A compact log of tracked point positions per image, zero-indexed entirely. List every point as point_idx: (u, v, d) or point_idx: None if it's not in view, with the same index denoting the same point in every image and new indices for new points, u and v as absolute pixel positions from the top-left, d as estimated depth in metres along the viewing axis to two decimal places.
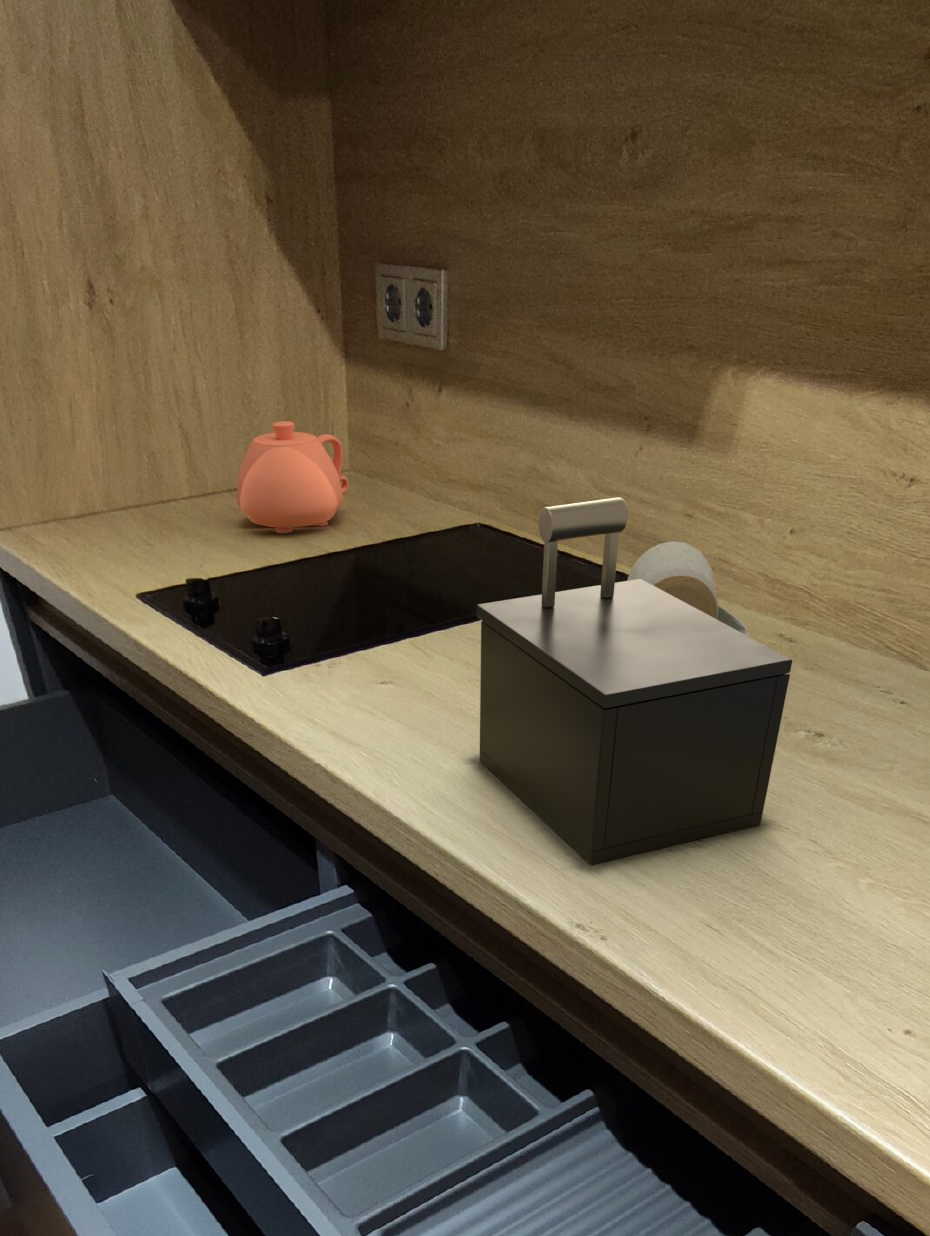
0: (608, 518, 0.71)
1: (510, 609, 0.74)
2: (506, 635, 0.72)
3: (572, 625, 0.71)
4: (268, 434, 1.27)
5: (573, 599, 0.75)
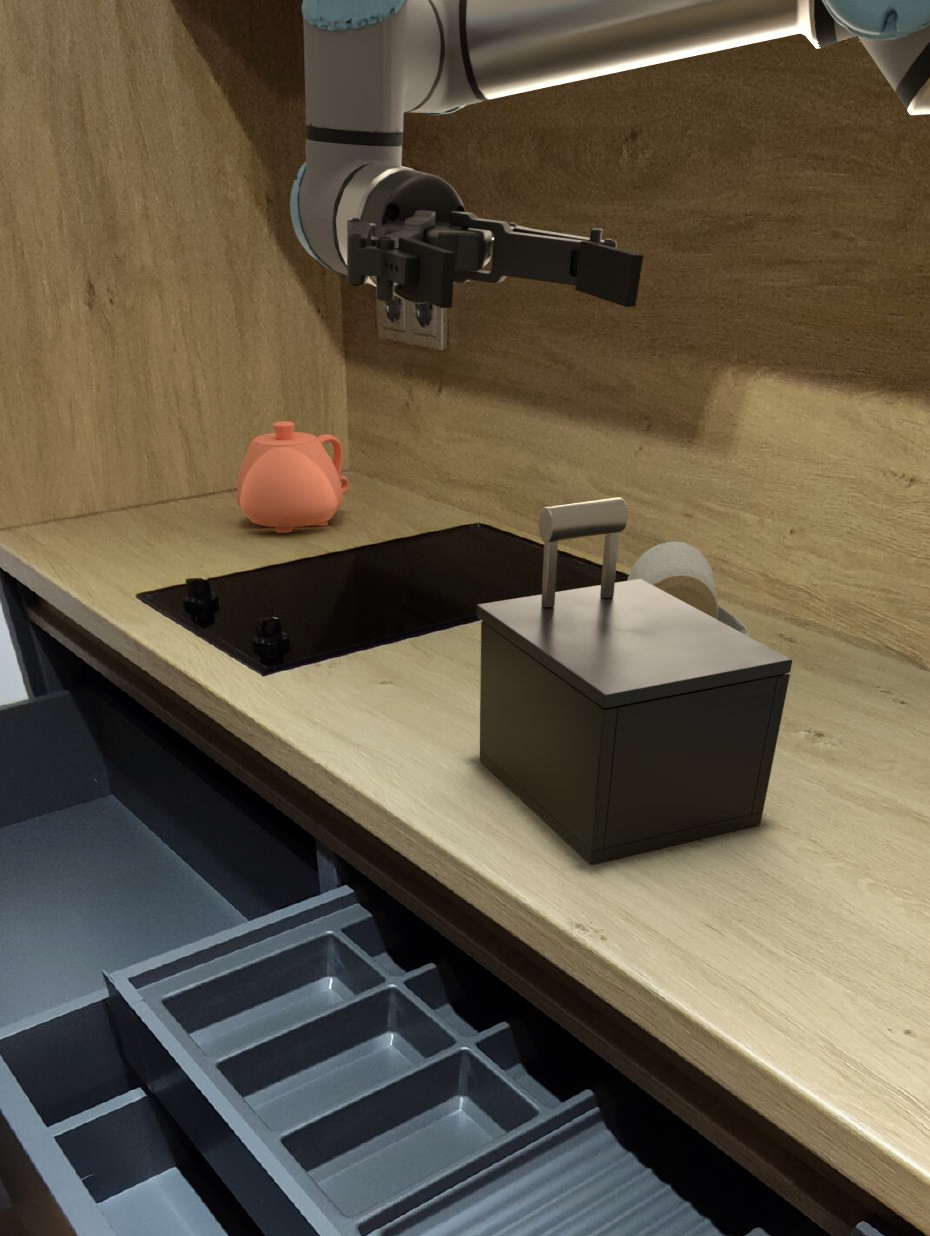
0: (608, 518, 0.71)
1: (510, 609, 0.74)
2: (506, 635, 0.72)
3: (572, 625, 0.71)
4: (268, 434, 1.27)
5: (573, 599, 0.75)
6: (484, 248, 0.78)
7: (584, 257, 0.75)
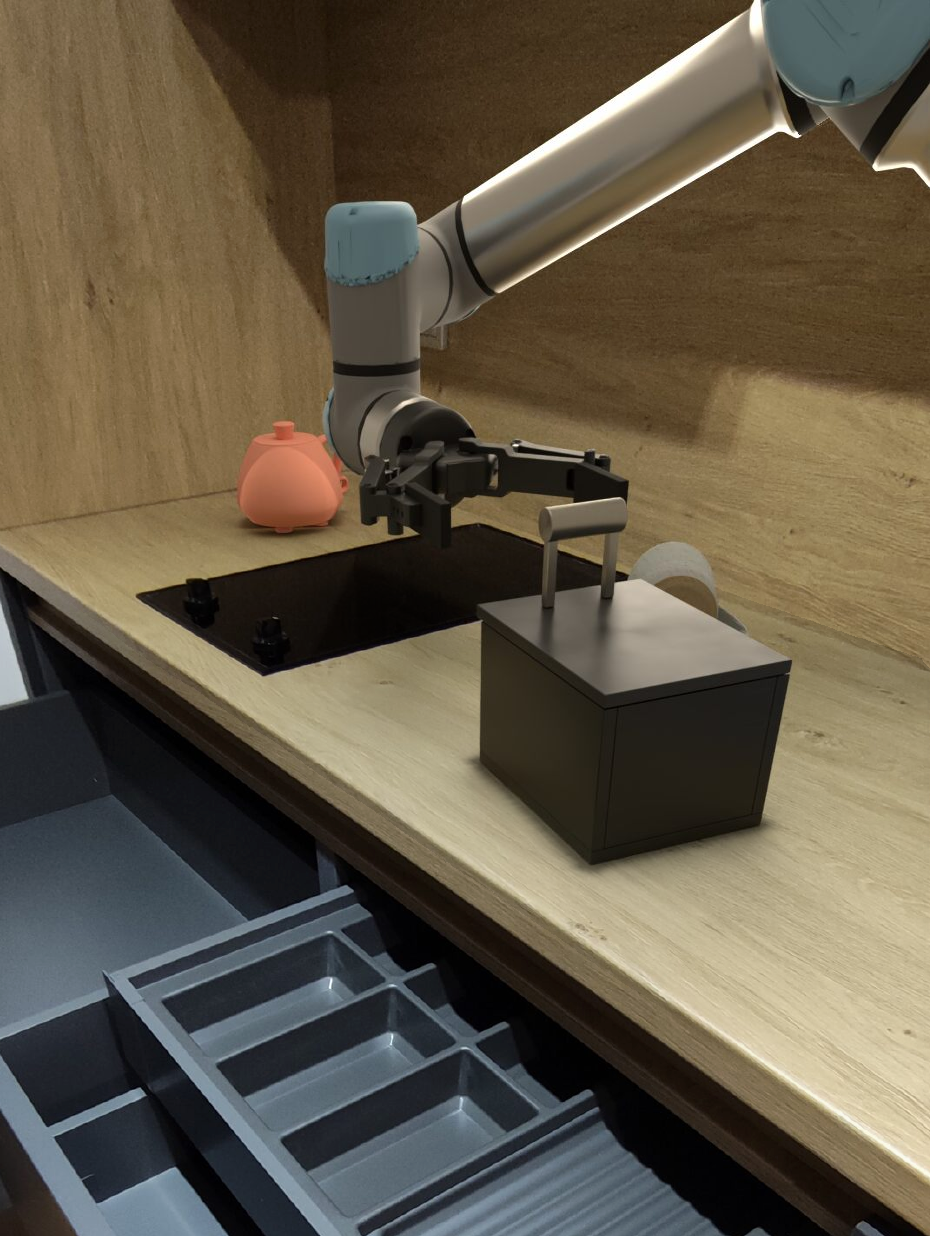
0: (608, 518, 0.71)
1: (510, 609, 0.74)
2: (506, 635, 0.72)
3: (572, 625, 0.71)
4: (268, 434, 1.27)
5: (573, 599, 0.75)
6: (489, 470, 0.85)
7: (579, 477, 0.82)
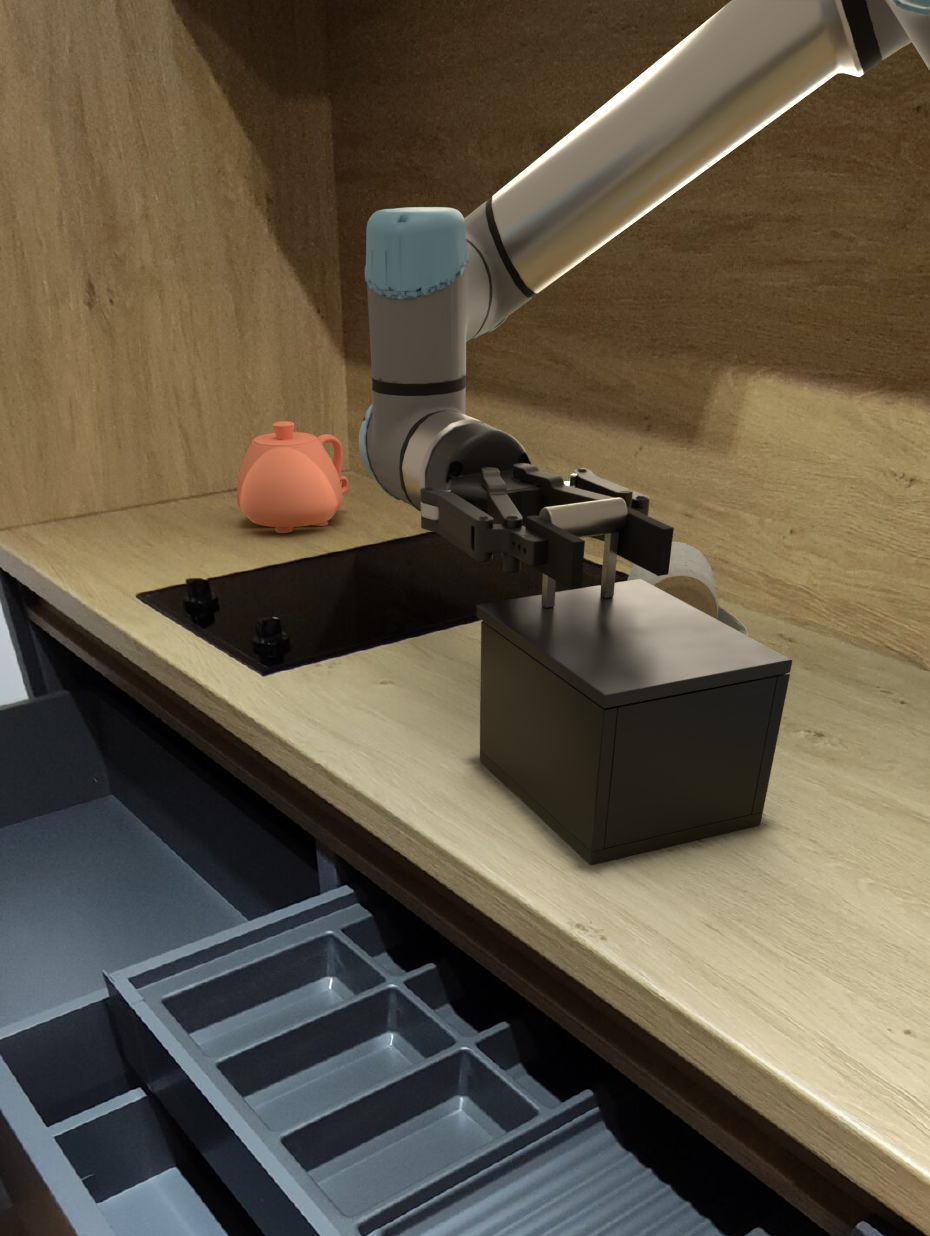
0: (608, 518, 0.71)
1: (510, 609, 0.74)
2: (506, 635, 0.72)
3: (572, 625, 0.71)
4: (268, 434, 1.27)
5: (573, 599, 0.75)
6: None
7: None
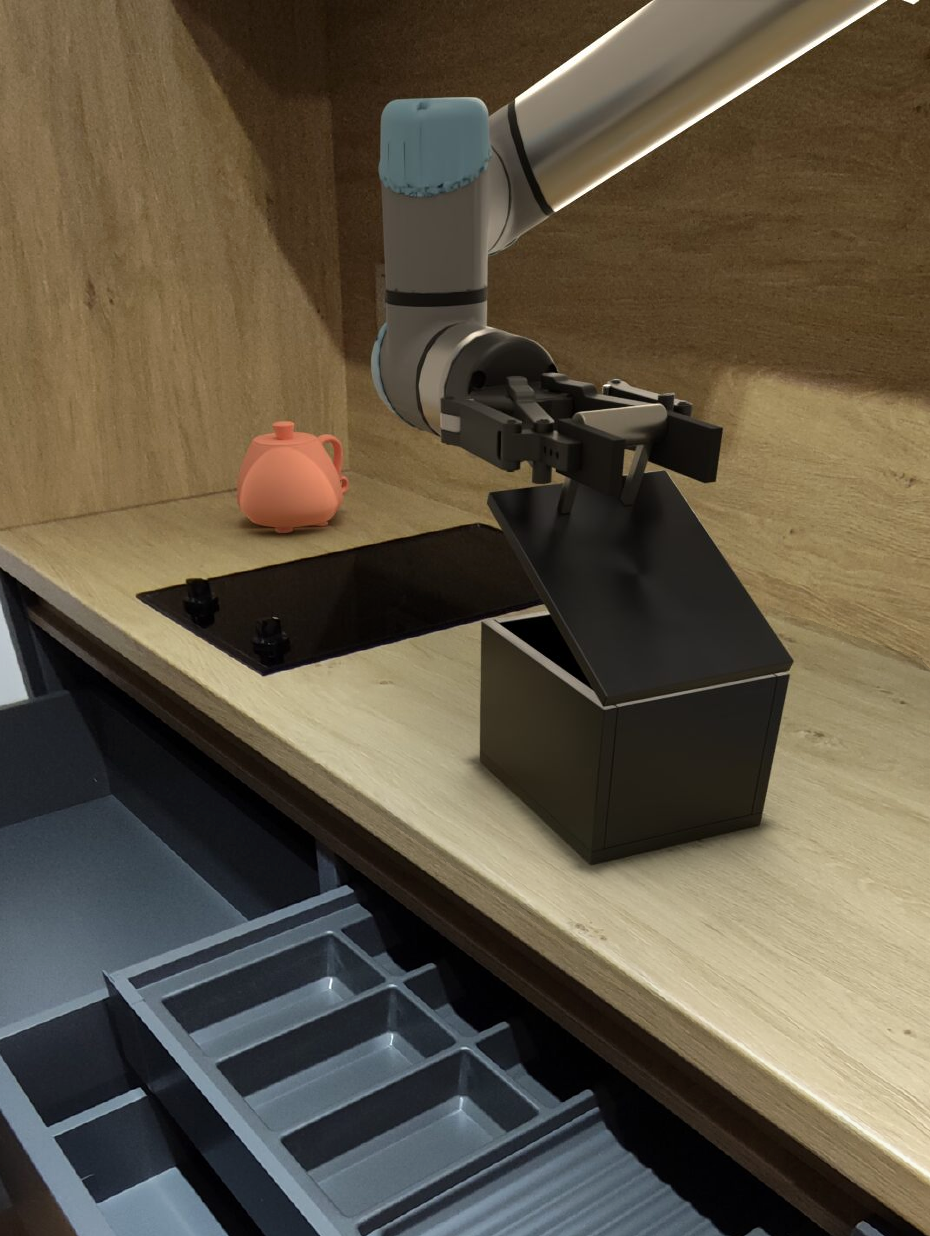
0: (645, 433, 0.65)
1: (524, 510, 0.68)
2: (516, 552, 0.67)
3: (586, 554, 0.67)
4: (268, 434, 1.27)
5: (591, 501, 0.70)
6: None
7: None
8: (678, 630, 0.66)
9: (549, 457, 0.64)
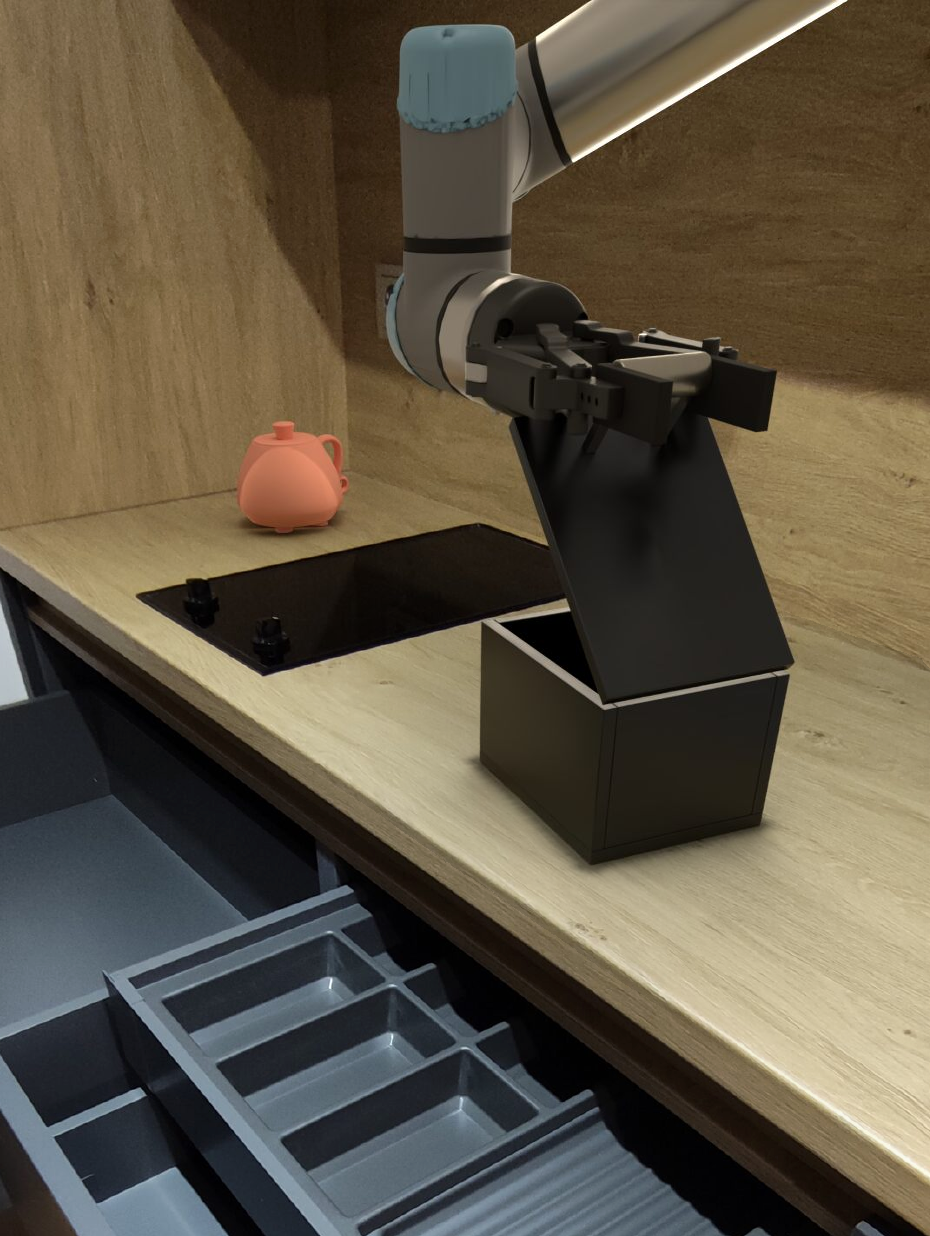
0: (687, 389, 0.61)
1: (547, 446, 0.64)
2: (533, 499, 0.64)
3: (606, 512, 0.64)
4: (268, 434, 1.27)
5: (619, 438, 0.65)
6: None
7: None
8: (687, 617, 0.64)
9: (587, 404, 0.59)
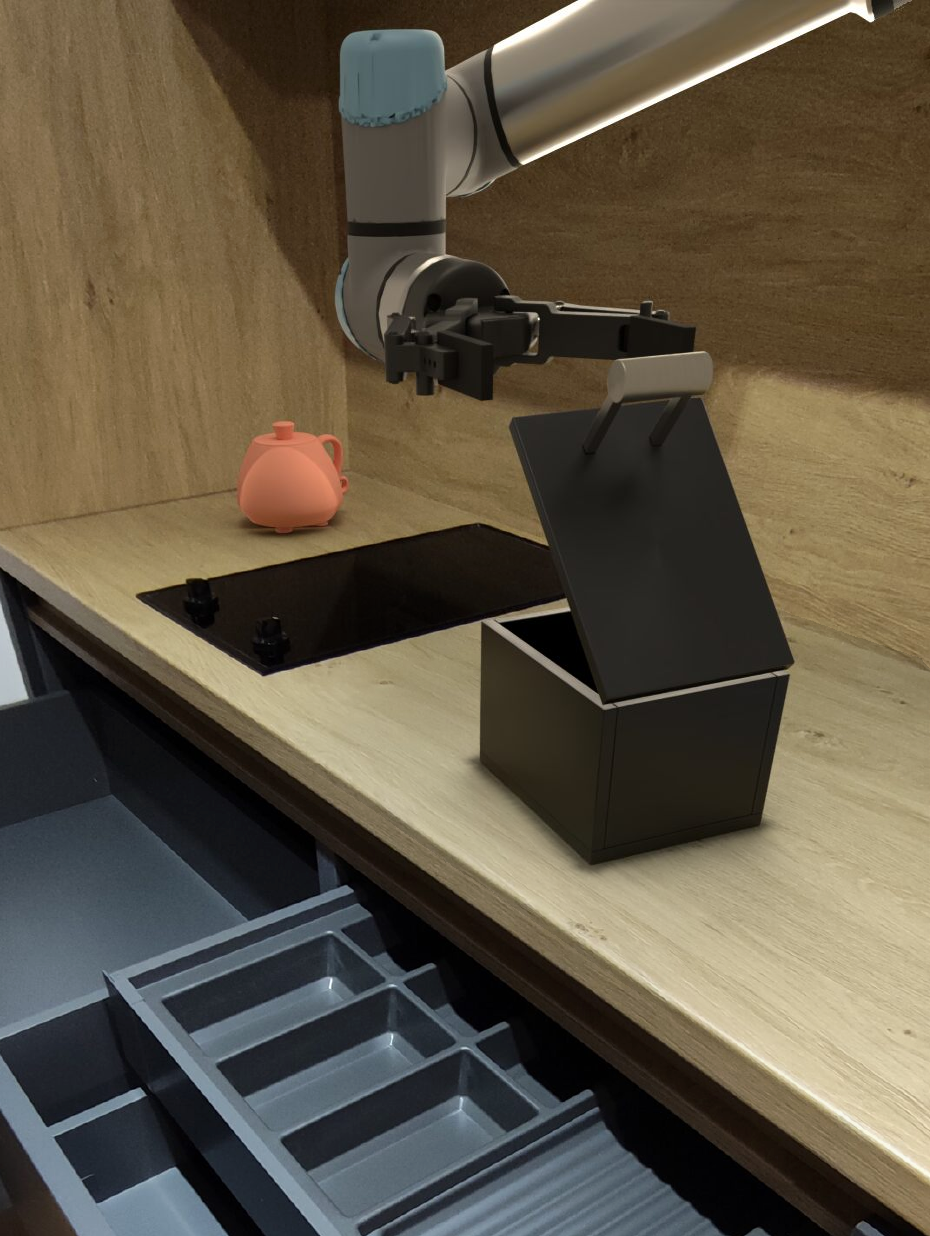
0: (687, 389, 0.61)
1: (547, 446, 0.64)
2: (533, 498, 0.64)
3: (606, 511, 0.64)
4: (268, 434, 1.27)
5: (619, 437, 0.65)
6: (529, 331, 0.75)
7: (634, 332, 0.71)
8: (687, 617, 0.64)
9: (428, 367, 0.67)
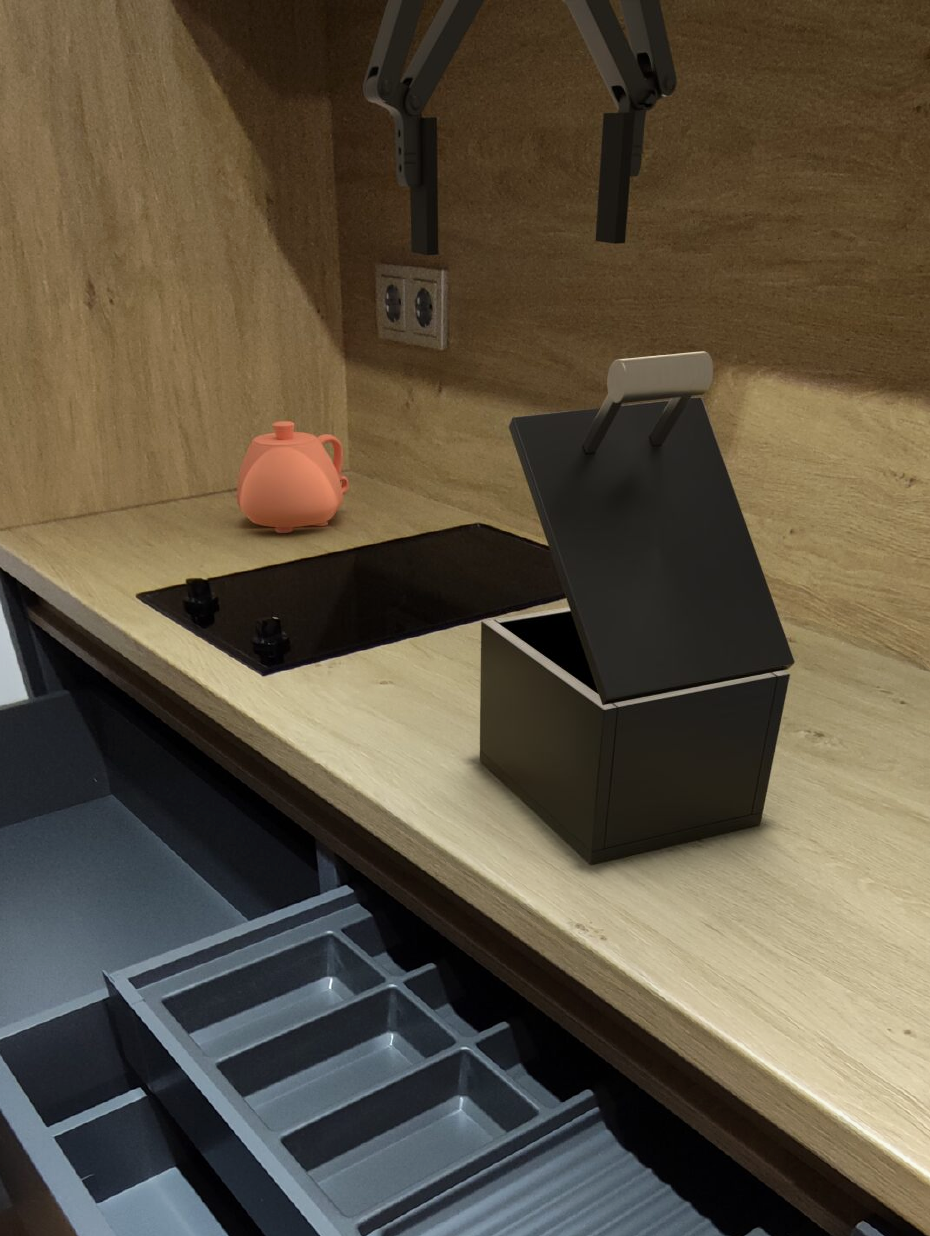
0: (687, 389, 0.61)
1: (547, 446, 0.64)
2: (533, 498, 0.64)
3: (606, 511, 0.64)
4: (268, 434, 1.27)
5: (619, 437, 0.65)
6: None
7: (616, 127, 0.70)
8: (687, 617, 0.64)
9: (398, 147, 0.67)
